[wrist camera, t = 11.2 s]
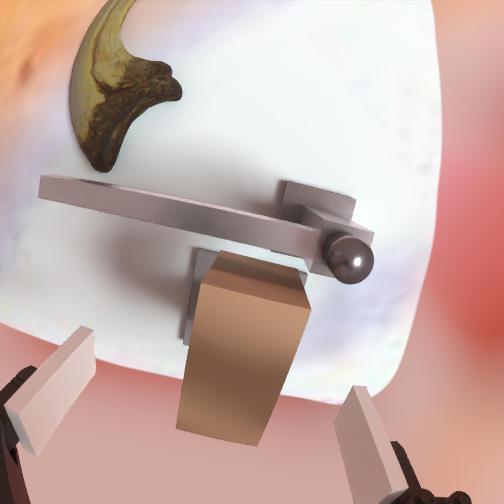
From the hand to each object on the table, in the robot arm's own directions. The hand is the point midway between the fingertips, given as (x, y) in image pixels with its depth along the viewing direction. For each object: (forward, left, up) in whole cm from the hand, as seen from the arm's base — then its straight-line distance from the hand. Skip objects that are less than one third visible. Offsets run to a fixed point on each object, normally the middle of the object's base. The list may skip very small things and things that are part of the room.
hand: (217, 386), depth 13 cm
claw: (-12, +18, -11) cm, 25 cm away
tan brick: (+1, +2, -9) cm, 9 cm away
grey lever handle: (-4, +7, -10) cm, 13 cm away
